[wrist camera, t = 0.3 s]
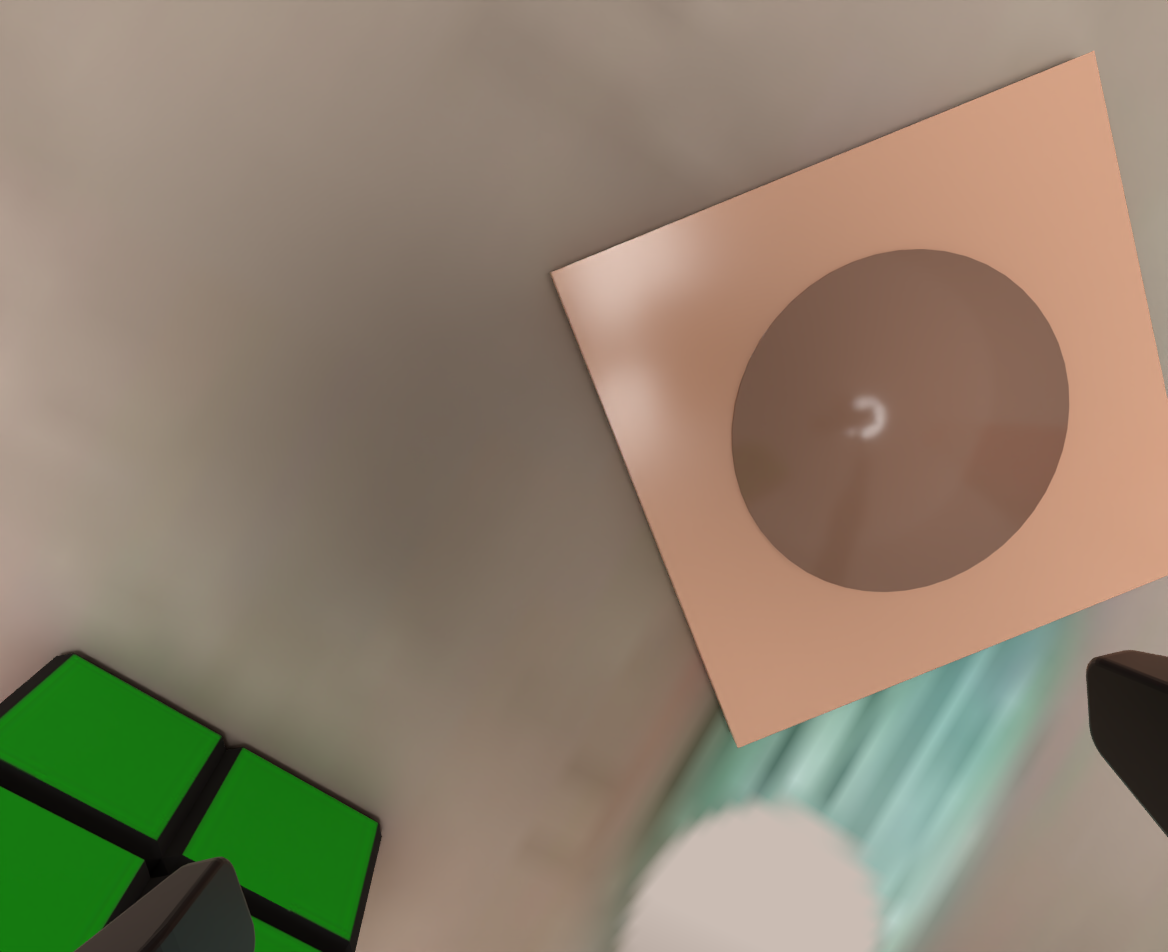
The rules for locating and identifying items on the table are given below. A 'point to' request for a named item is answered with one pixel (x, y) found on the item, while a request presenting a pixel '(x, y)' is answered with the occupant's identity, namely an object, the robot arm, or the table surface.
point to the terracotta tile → (890, 400)
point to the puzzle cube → (159, 820)
